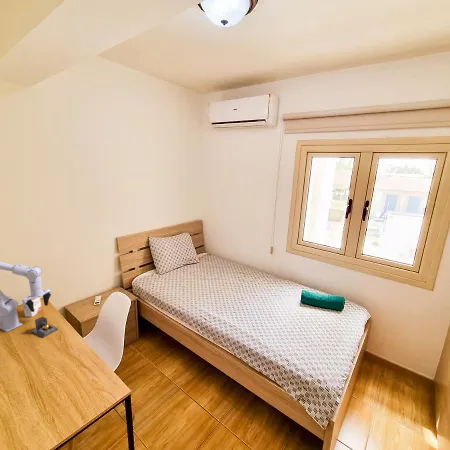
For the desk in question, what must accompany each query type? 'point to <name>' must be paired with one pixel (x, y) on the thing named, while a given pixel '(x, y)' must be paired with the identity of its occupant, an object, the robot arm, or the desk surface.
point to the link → (40, 326)
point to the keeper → (44, 330)
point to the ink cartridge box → (36, 306)
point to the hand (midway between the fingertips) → (39, 308)
